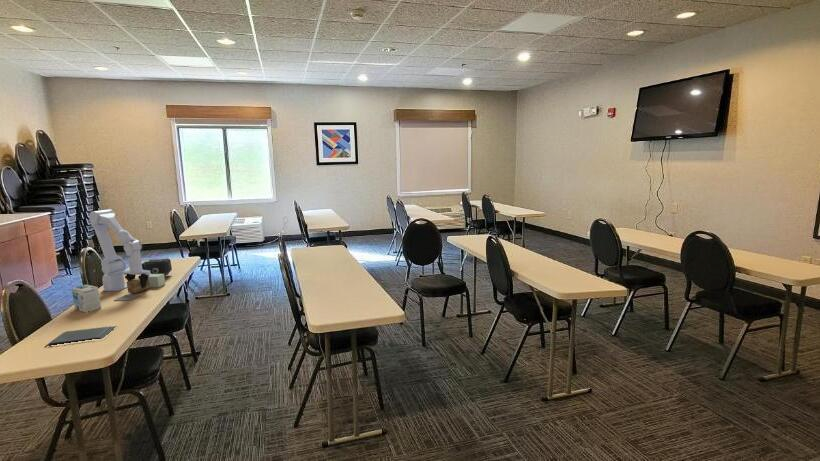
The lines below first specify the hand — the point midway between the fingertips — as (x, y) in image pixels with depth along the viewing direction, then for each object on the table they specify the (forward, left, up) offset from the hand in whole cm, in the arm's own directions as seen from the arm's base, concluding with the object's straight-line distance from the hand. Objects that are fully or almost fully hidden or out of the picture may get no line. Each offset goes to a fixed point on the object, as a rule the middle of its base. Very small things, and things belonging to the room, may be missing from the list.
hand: (138, 287), depth 222 cm
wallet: (+19, -56, -3) cm, 59 cm away
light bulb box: (-6, -26, -3) cm, 27 cm away
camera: (-8, +26, -2) cm, 27 cm away
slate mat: (+2, -11, -2) cm, 11 cm away
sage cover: (+2, +10, -2) cm, 10 cm away
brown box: (0, 0, -1) cm, 1 cm away
